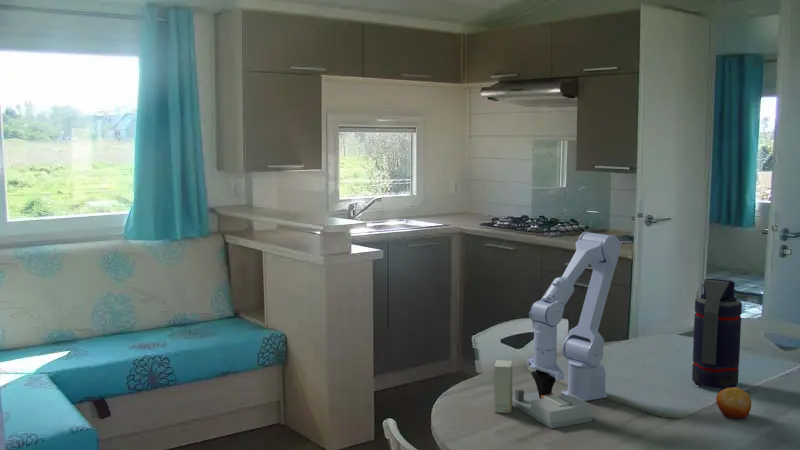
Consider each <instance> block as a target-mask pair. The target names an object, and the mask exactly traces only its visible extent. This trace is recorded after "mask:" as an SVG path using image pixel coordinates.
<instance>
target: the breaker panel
mask: <svg viewBox="0 0 800 450" xmlns="http://www.w3.org/2000/svg"><path fill="white" fill-rule="evenodd" d="M514 391H515V392H514V395H512V406H515V407H517V408H518V409H519V410H521V411H522V412H524V413H526V414H527V415H529V416H530V417H532V418H533V419H536V420H537V421H538V422H540V423H542V424H543V425H544V426H546V427H548V428H549V429H555V428H562V427H567V426H573V425H578V424H584V423H589V422H593V416H592V408H593V407H592V404H591V403H589V402H587V401H584V400H582V399H580V398H578V397H576V396H575V395H573V394H568V395H564V394H562V395H558V396H557V397H559V398H560V399H562V400H564V401H566V402H567V403H569V406H566V407H559V406H557V405H555V404H554V403H552V402H550V401H549V400H547V399H545V398H543V399H540V397H539V393H538V391H535V392H528V393H525V390H524V389H523V388H515V389H514ZM551 394H553V389H552V390H551Z"/></svg>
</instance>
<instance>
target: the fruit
mask: <svg viewBox="0 0 800 450" xmlns="http://www.w3.org/2000/svg"><path fill="white" fill-rule="evenodd" d="M715 401H716V406H717V407H718V409H719V411H720V412H721V414H722V416H724V417H725V418H727V419H728V418H729V419H746V418H747V417H748V416H749V413H750V411H751V409H752V400H751V396H750V395H749V394H748V393H747V392H745V391H744V390H743V389H742V388H740V387H737V386H735V387H732V388H726V389H723V390H722V391H721V390H720V391H719V392H718V393H717V395H716V399H715Z"/></svg>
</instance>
